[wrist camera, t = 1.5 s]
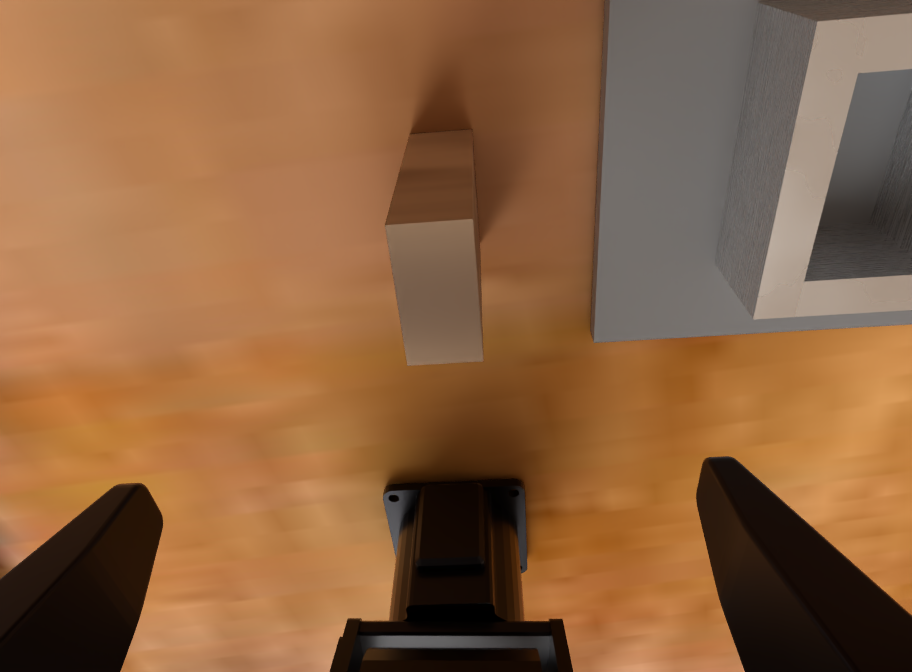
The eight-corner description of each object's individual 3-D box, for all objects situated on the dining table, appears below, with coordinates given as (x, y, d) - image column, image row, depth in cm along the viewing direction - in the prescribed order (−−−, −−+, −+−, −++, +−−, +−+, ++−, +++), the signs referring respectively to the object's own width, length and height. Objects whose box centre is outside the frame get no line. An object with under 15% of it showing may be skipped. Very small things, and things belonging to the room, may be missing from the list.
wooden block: (480, 243, 22) (483, 361, 16) (423, 247, 22) (407, 365, 16) (472, 129, 20) (472, 219, 14) (409, 133, 20) (385, 225, 14)
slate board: (971, 308, 23) (986, 320, 22) (590, 330, 24) (593, 342, 23) (1186, -177, 15) (1218, -181, 15) (609, -117, 16) (615, -118, 16)
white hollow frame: (896, 252, 21) (964, 307, 18) (714, 264, 21) (753, 319, 19) (990, -19, 17) (1099, -4, 14) (758, 2, 17) (817, 21, 14)
